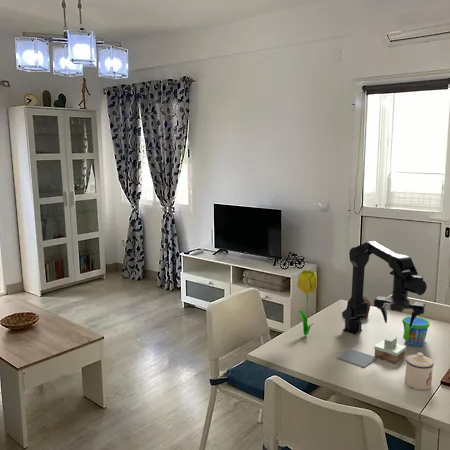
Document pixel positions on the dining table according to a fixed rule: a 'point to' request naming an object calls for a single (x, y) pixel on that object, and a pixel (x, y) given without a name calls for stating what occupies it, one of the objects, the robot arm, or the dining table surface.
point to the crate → (389, 356)
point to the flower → (306, 285)
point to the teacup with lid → (419, 371)
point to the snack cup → (415, 331)
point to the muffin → (367, 307)
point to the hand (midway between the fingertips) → (397, 325)
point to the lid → (390, 346)
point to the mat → (357, 358)
